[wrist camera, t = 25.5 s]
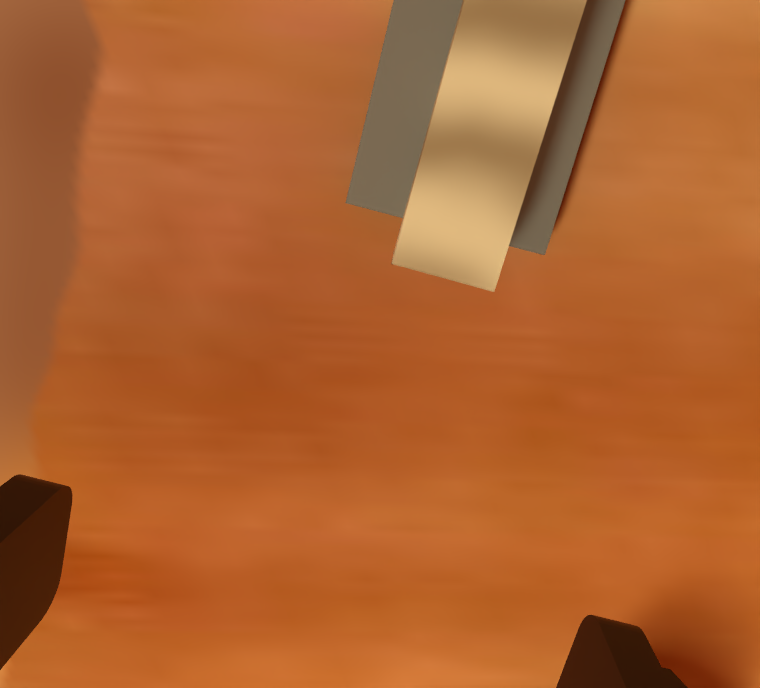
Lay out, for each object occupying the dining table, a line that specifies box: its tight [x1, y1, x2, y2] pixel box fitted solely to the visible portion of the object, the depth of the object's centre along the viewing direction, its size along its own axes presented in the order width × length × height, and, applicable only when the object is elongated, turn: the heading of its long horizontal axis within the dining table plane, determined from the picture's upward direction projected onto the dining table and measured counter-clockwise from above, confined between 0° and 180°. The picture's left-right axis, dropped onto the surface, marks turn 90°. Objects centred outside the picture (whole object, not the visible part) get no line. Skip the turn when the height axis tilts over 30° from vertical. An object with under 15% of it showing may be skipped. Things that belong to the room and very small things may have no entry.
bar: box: [392, 0, 587, 292], centre depth 31 cm, size 24×5×5 cm, turn 165°
